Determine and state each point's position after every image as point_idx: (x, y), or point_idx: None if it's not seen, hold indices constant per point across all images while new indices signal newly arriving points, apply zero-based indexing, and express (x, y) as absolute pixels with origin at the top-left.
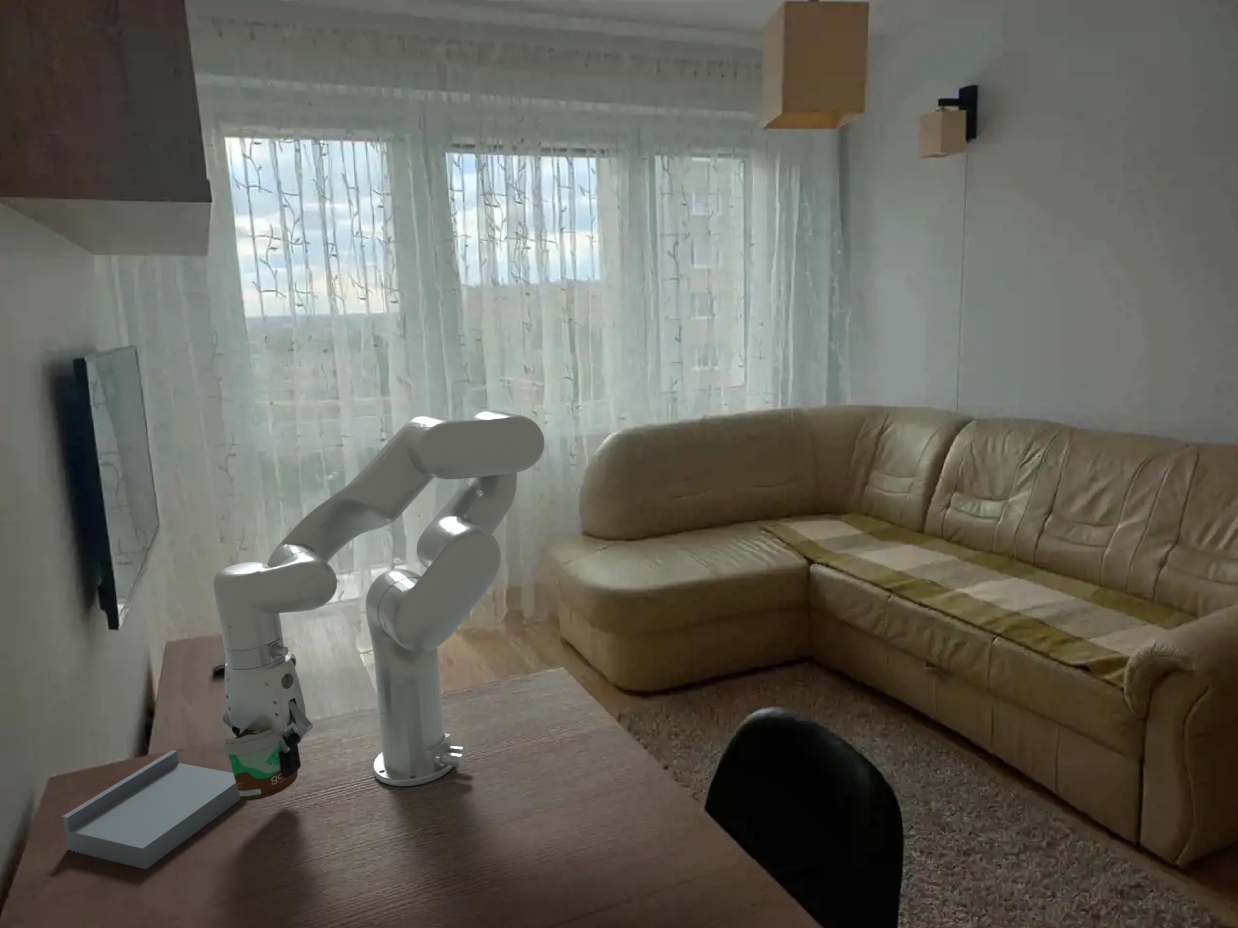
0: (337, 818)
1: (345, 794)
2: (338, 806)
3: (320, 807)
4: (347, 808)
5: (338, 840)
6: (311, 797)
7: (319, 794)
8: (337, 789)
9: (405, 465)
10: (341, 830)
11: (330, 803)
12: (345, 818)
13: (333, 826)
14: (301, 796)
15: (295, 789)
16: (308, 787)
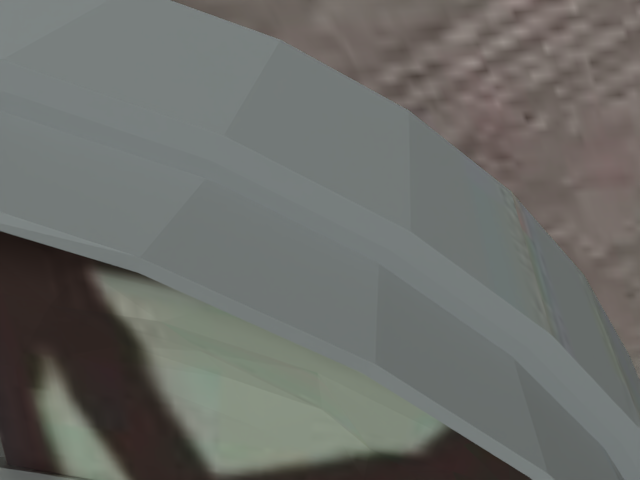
0: (595, 233)
1: (589, 57)
2: (579, 154)
3: (499, 167)
4: (623, 166)
5: (629, 344)
6: (429, 95)
7: (458, 67)
8: (536, 14)
9: None
10: (628, 297)
11: (535, 135)
12: (629, 231)
13: (592, 278)
14: (377, 90)
15: (318, 32)
16: (376, 7)
